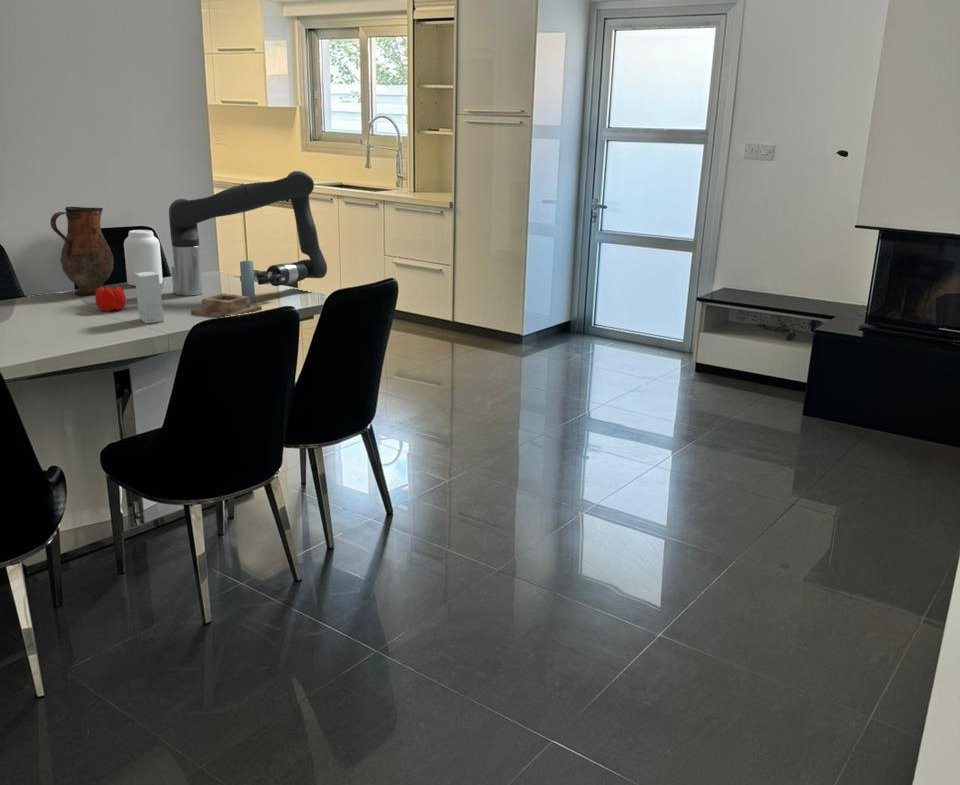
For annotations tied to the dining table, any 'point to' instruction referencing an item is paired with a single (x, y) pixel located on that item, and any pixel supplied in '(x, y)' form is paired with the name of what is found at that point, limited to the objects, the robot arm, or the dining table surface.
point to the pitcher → (84, 249)
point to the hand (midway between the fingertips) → (249, 280)
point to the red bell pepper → (110, 298)
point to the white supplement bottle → (142, 254)
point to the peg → (247, 280)
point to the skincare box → (149, 297)
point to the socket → (226, 306)
